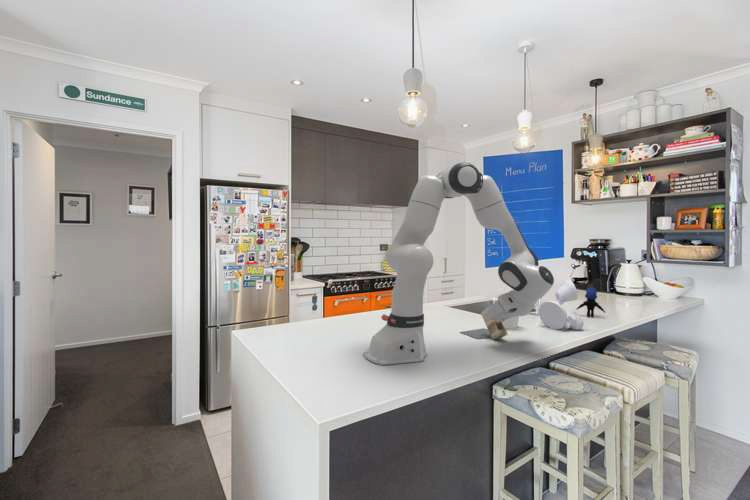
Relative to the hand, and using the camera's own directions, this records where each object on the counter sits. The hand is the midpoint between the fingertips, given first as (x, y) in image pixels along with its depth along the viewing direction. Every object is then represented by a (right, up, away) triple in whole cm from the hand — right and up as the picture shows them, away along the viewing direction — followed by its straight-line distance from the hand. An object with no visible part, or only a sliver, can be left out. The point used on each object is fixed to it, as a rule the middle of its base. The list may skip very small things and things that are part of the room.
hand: (499, 320), depth 150 cm
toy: (+61, -6, +43) cm, 75 cm away
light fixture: (+34, -7, +23) cm, 42 cm away
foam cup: (+11, -7, +20) cm, 24 cm away
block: (0, -6, 0) cm, 6 cm away
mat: (-5, -7, +9) cm, 13 cm away
